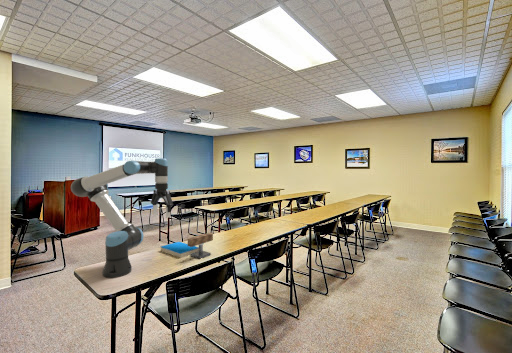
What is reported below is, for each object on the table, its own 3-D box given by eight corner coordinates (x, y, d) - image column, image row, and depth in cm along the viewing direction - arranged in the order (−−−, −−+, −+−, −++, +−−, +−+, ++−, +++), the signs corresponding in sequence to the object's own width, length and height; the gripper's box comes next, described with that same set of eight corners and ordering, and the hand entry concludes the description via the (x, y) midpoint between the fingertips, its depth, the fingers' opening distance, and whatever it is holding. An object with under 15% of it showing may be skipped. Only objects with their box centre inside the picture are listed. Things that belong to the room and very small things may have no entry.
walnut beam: (191, 247, 169) (191, 239, 169) (187, 245, 171) (187, 238, 171) (212, 240, 185) (212, 233, 185) (209, 239, 188) (209, 232, 187)
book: (180, 253, 173) (160, 246, 188) (180, 259, 173) (160, 251, 189) (199, 247, 187) (179, 240, 202) (199, 252, 187) (179, 246, 202)
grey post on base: (200, 259, 172) (200, 245, 171) (190, 256, 177) (190, 243, 177) (210, 254, 180) (210, 242, 179) (201, 252, 185) (201, 240, 185)
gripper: (178, 183, 155) (179, 217, 155) (155, 182, 169) (155, 213, 170) (168, 183, 149) (168, 219, 149) (144, 182, 163) (145, 214, 164)
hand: (161, 216), depth 159 cm, fingers open, 13 cm apart
